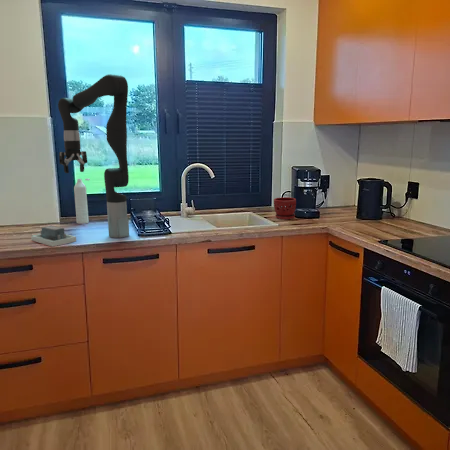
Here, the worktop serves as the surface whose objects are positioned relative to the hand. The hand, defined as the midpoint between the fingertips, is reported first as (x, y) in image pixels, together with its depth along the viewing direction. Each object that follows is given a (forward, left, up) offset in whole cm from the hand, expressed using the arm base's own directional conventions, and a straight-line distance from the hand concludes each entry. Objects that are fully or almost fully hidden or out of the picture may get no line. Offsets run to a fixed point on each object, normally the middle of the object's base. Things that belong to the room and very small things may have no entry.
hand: (74, 172), depth 210 cm
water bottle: (+14, -13, -30) cm, 36 cm away
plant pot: (-69, -94, -30) cm, 121 cm away
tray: (-10, +20, -30) cm, 37 cm away
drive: (-10, +20, -29) cm, 37 cm away
